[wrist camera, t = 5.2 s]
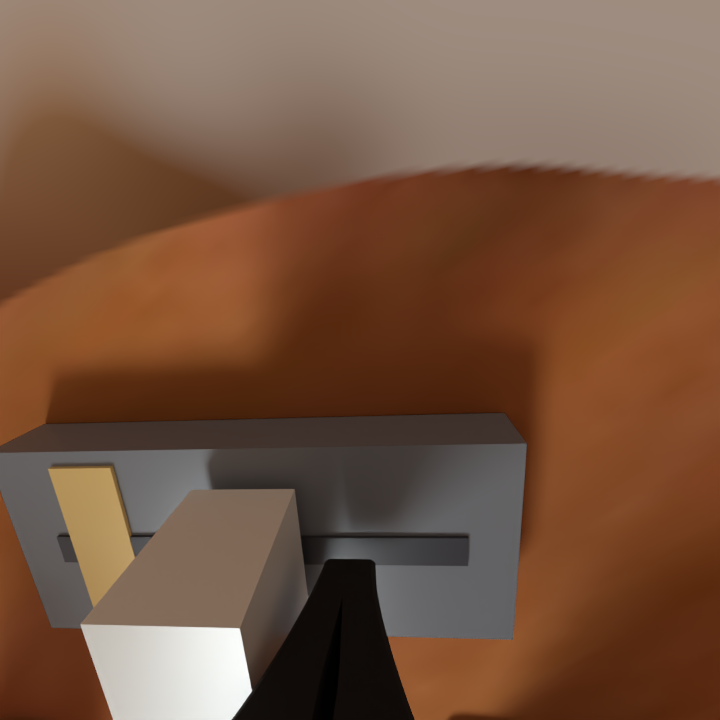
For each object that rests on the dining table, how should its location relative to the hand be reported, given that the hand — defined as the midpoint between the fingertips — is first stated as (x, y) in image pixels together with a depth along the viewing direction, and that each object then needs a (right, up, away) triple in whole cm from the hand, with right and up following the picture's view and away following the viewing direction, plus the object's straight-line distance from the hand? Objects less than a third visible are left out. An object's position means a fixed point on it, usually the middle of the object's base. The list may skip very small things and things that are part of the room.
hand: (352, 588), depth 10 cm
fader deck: (-3, +1, +4) cm, 5 cm away
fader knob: (-3, 0, +1) cm, 3 cm away
